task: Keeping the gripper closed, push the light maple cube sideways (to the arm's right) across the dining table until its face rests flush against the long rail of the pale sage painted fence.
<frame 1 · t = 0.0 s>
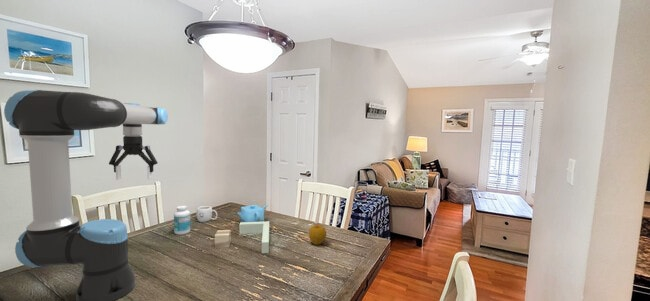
hand: (134, 178, 131), 28 cm above the table, fingers open, 13 cm apart
pill bottle: (182, 232, 138), on the table
fence: (265, 240, 131), on the table
maple block: (223, 245, 125), on the table
apple: (317, 243, 129), on the table
mug: (207, 221, 155), on the table
teapot: (253, 225, 151), on the table
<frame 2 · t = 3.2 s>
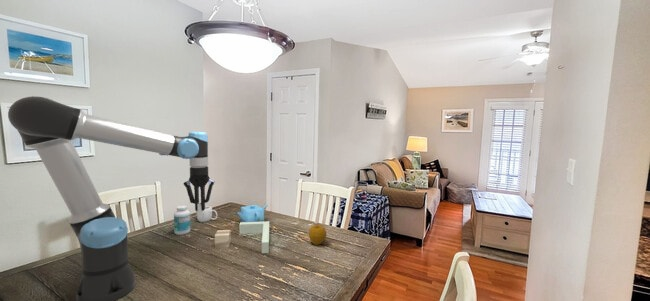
hand: (200, 217, 122), 14 cm above the table, fingers closed
nothing on the table moved.
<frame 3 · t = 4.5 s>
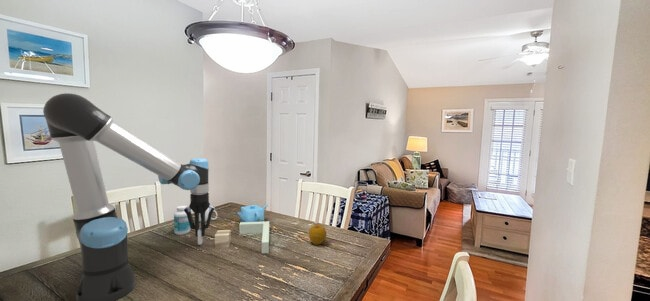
hand: (200, 243, 123), 1 cm above the table, fingers closed
nothing on the table moved.
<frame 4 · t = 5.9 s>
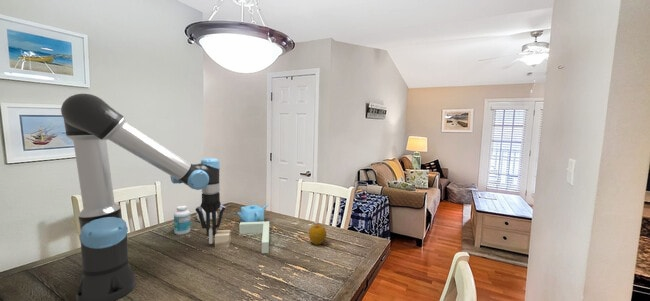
hand: (211, 242, 124), 2 cm above the table, fingers closed
maple block: (223, 245, 125), on the table, touching gripper
everything else where it was.
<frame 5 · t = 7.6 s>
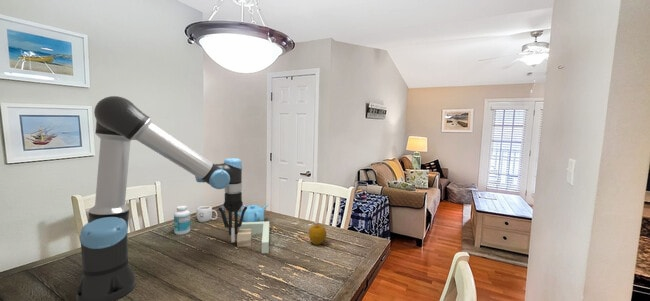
hand: (233, 240, 126), 2 cm above the table, fingers closed
maple block: (244, 243, 127), on the table, touching gripper
everything else where it was.
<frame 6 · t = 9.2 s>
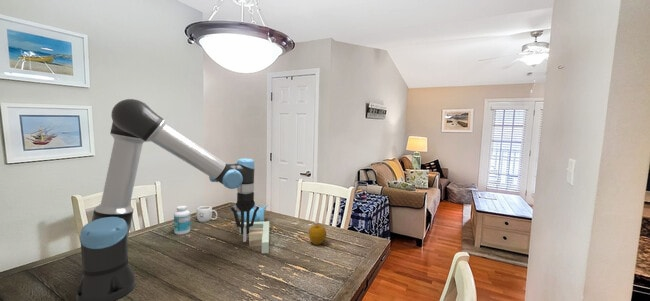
hand: (245, 240, 127), 1 cm above the table, fingers closed
maple block: (256, 242, 128), on the table, touching fence, gripper
everything else where it was.
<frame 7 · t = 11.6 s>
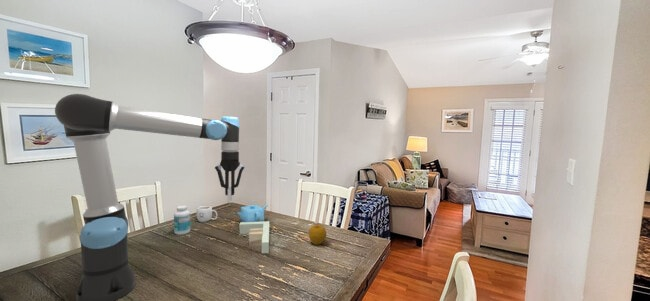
hand: (229, 201, 123), 21 cm above the table, fingers closed
maple block: (256, 243, 128), on the table
everything else where it was.
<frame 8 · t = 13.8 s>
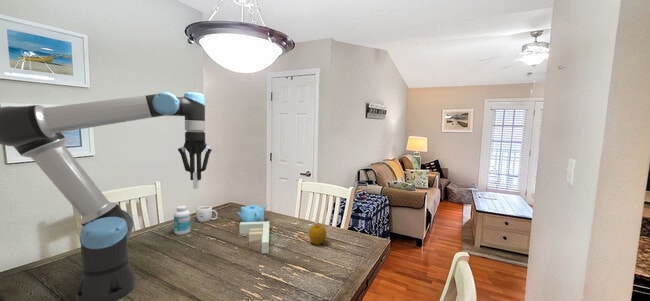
hand: (196, 187, 112), 29 cm above the table, fingers closed
nothing on the table moved.
at the end: maple block inside the target area on the fence (0.5 cm from its centre), point 0.0 cm above the fence's base; maple block tilted 0° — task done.
